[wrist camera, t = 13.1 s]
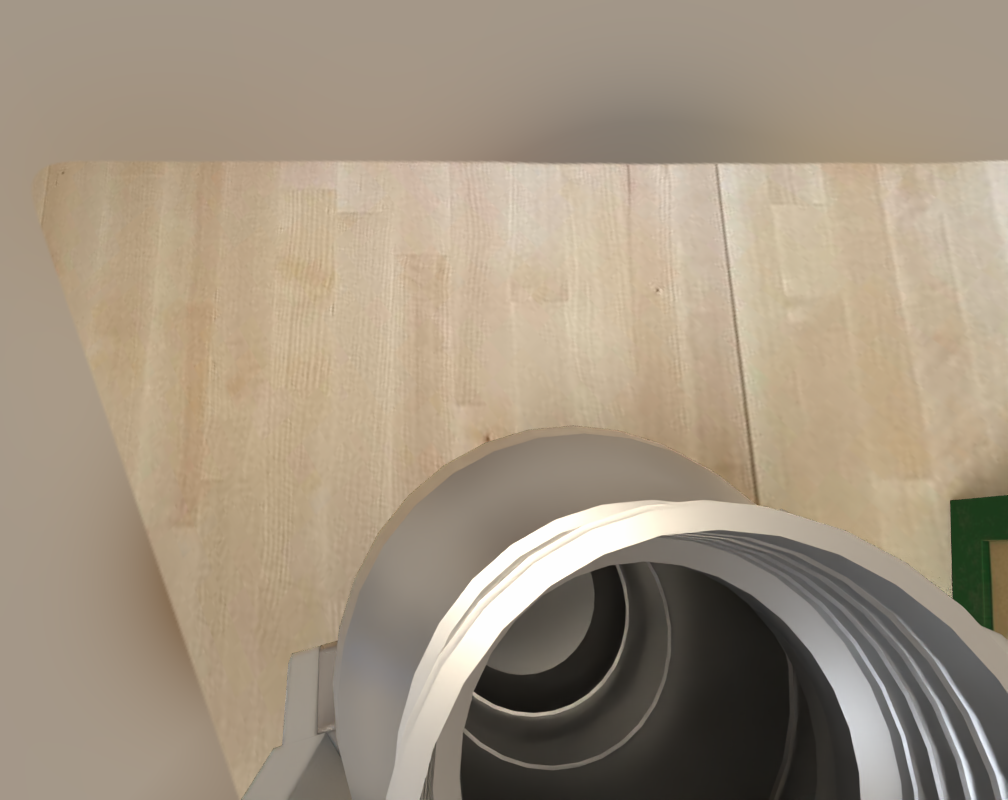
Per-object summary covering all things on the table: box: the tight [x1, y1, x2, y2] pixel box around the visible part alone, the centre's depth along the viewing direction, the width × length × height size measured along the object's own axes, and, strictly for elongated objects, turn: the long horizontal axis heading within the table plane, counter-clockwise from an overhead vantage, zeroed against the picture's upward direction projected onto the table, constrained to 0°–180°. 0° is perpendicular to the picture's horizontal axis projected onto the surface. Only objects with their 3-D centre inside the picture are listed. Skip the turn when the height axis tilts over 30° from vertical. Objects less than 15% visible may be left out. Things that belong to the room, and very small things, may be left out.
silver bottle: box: [333, 426, 1008, 800], centre depth 13 cm, size 6×7×20 cm
